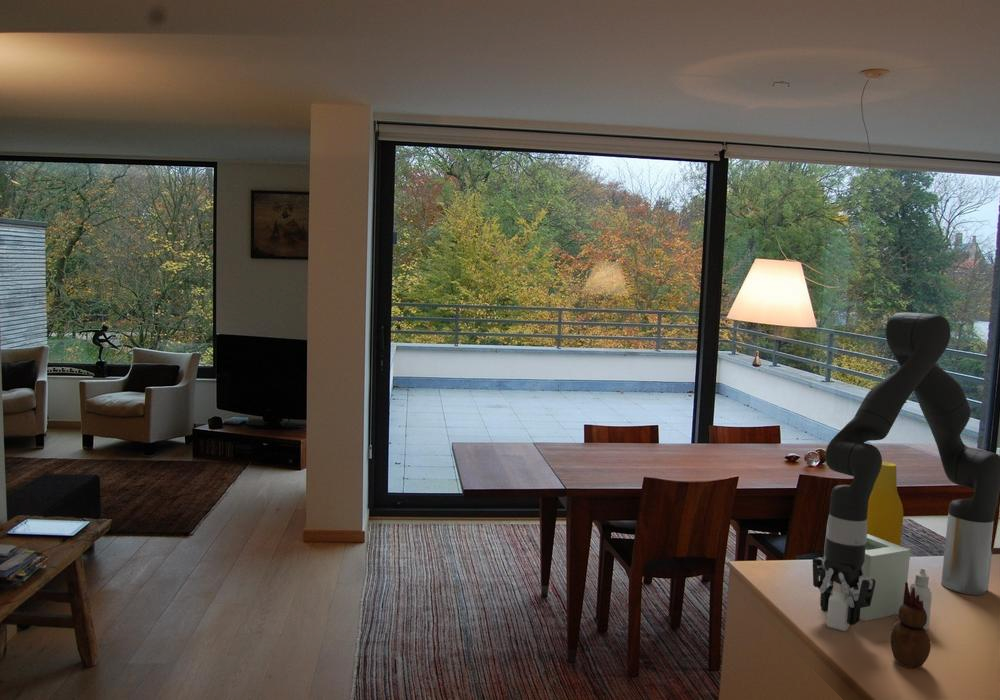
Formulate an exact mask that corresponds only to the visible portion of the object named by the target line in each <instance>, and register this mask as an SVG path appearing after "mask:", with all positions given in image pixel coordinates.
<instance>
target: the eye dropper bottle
mask: <svg viewBox="0 0 1000 700" xmlns="http://www.w3.org/2000/svg"><path fill="white" fill-rule="evenodd" d="M929 579H930V576H929V575H927V573H926V568H924V567H922V568H921V569H920V571H919V572H916V573H915V579H914V583H911V584H910V587H909V593H910V595H911V592H912V588H915V599H916V596H917V595H919V602H920V601H923V607H924V609H925V611H926V614H927V622H926V624H925V626H924V627H923V628H924V629H925V630H928V629H929V626H930V619H931V618H930V617H931V608H932V595H933V594H932V591H931V589H930V588H929Z"/></svg>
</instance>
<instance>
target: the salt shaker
mask: <svg viewBox="0 0 1000 700" xmlns="http://www.w3.org/2000/svg"><path fill="white" fill-rule="evenodd" d="M849 606H850V605H849V601H848V598H847V596H846V595H845V593H844V590H843V586H842V584H840V583H837V582H835V581H834V584H833V594H831V595H830V597H829V603H828V612H827V614H826V615H827V617H826V626H827V628H829V629H830V628H831V629H834V630H839V631H842V632H847V630H848V629H849V627H850V626H851V625H850V624H848V623H847V618H848V607H849Z"/></svg>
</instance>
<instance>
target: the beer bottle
mask: <svg viewBox="0 0 1000 700" xmlns="http://www.w3.org/2000/svg"><path fill="white" fill-rule="evenodd" d="M897 485H898V484H897V464H896V463H893V462H889V461H882V466H881V470H880V473H879V475H878V477H877V479H876V482H875V484H874V487H873V490H872V492H871V495H870V498H869V501H868V512H867V534H869V535H872V536H875V537H877V538H880V539H883V540H885V541H888V542H891V543H893V544H896V545H899V546H901V542H902V534H903V533H902V532H903V522H904V507H903V504H902V501H901V498H900V496H899V493H898V488H897V487H898V486H897Z"/></svg>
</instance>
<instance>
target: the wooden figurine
mask: <svg viewBox="0 0 1000 700" xmlns="http://www.w3.org/2000/svg"><path fill="white" fill-rule="evenodd" d="M897 615H898V621H896V622H895V623H894V625H893V626H892V629H891V631H890V637H889V639H890V641H889V643H890V648H891V652H892V655H893V657H894V660H896V662H897V663H898V664H900V665H902V666H905V667H907V668H910V669H917V668H922V667H923V665H924V664H925V662H927V660H928V658H929V656H930V653H931V646H932V645H931V639H930V635H929V634H928V632H927V631H926V630H927V629H924V628H923V627H924V626H925V624H926V622H927V614H926V611H925V609H924V607H923V601H920V602H919V595H917V596H916V599H915V588H912V592H911V595H910V587H909V583H908V581H907V582H906V583H905V590H904V599H903V604H902V605H901V606H900V608H899V613H898V614H897Z"/></svg>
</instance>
